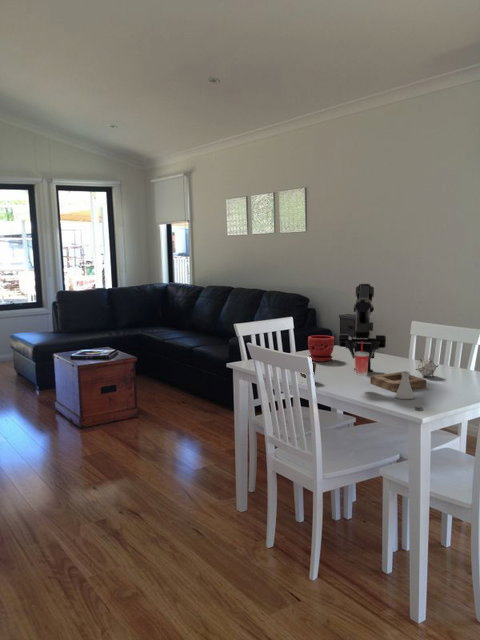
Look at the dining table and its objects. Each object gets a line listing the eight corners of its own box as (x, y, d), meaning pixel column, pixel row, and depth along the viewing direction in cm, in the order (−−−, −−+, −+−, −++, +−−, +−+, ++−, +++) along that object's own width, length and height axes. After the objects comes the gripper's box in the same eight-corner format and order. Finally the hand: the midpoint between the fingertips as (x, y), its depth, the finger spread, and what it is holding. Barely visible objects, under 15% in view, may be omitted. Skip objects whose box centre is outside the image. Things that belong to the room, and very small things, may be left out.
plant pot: (335, 362, 288) (336, 338, 286) (309, 362, 288) (309, 338, 287) (332, 356, 301) (332, 334, 299) (306, 357, 301) (306, 334, 300)
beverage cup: (357, 372, 240) (358, 338, 238) (371, 374, 236) (372, 340, 234) (351, 375, 235) (351, 341, 233) (365, 377, 231) (365, 342, 229)
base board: (370, 383, 246) (370, 375, 245) (401, 379, 252) (401, 371, 251) (394, 392, 231) (394, 384, 231) (426, 387, 237) (426, 380, 237)
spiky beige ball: (430, 385, 255) (439, 370, 248) (411, 378, 256) (420, 363, 249) (432, 372, 261) (441, 357, 255) (414, 364, 262) (423, 350, 256)
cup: (305, 384, 246) (305, 365, 245) (295, 380, 253) (295, 362, 252) (319, 381, 250) (319, 363, 248) (309, 378, 256) (309, 360, 255)
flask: (392, 395, 227) (393, 370, 225) (410, 394, 227) (411, 369, 226) (399, 400, 220) (399, 374, 218) (417, 399, 220) (418, 374, 219)
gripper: (339, 314, 238) (337, 346, 229) (386, 315, 234) (386, 347, 225) (340, 330, 247) (338, 361, 238) (385, 331, 242) (385, 363, 233)
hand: (361, 358), depth 233 cm, fingers closed on beverage cup, 6 cm apart
